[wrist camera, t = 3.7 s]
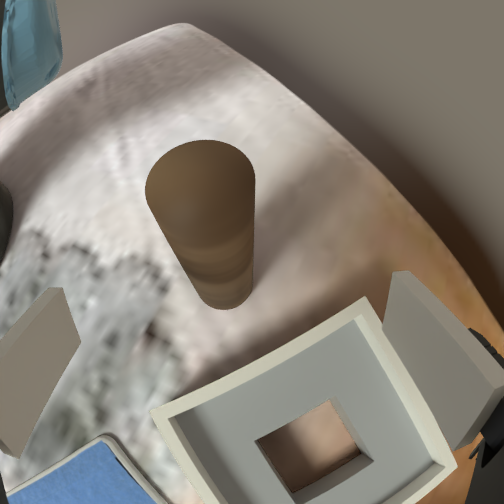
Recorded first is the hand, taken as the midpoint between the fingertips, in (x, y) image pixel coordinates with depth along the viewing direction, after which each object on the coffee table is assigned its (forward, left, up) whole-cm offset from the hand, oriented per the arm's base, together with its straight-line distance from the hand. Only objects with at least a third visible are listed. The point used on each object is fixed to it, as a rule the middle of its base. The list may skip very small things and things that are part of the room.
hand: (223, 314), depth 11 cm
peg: (-4, +1, -10) cm, 11 cm away
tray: (+9, +1, -10) cm, 13 cm away
